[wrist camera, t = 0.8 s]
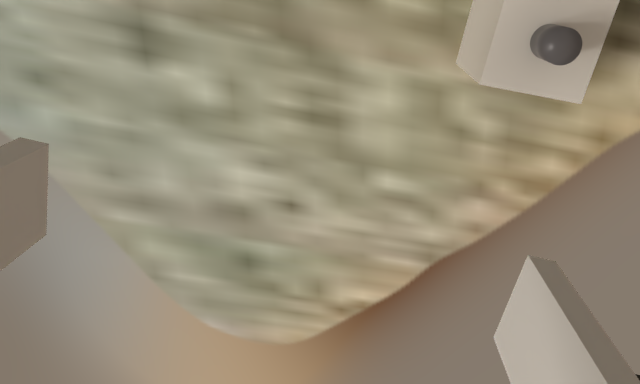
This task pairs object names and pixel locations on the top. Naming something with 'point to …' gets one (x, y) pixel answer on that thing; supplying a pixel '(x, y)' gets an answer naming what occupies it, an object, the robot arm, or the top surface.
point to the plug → (536, 45)
